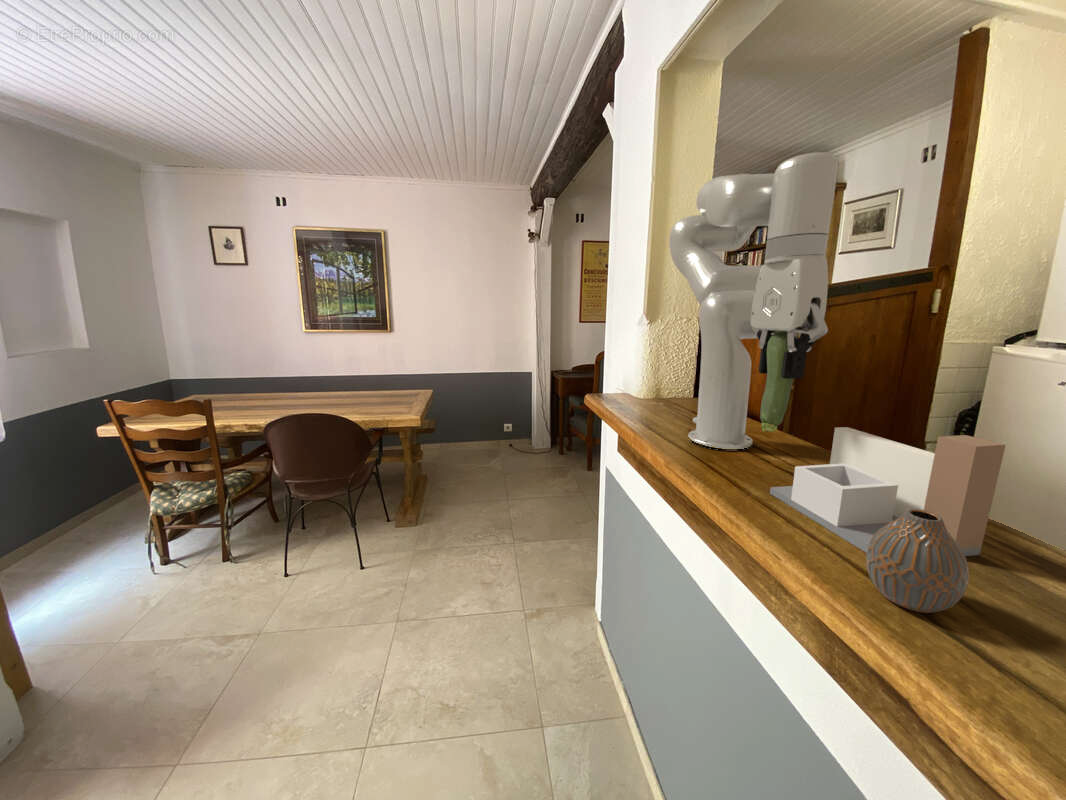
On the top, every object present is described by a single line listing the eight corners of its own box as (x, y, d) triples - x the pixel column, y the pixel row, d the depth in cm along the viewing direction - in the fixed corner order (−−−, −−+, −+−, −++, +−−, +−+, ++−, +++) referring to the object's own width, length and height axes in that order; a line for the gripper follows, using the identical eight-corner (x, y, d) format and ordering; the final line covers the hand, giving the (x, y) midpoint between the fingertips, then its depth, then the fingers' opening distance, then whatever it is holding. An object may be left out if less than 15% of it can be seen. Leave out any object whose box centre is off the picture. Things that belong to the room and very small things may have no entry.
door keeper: (769, 493, 61) (779, 411, 58) (840, 488, 62) (852, 407, 60) (884, 564, 43) (905, 450, 41) (979, 554, 45) (1005, 444, 42)
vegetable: (762, 426, 67) (776, 304, 63) (792, 431, 64) (809, 303, 60) (753, 431, 64) (768, 304, 60) (784, 437, 61) (801, 304, 57)
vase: (925, 633, 34) (944, 540, 32) (844, 582, 41) (856, 503, 39) (979, 616, 36) (1000, 527, 34) (893, 570, 42) (907, 494, 41)
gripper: (735, 259, 66) (725, 368, 70) (818, 242, 49) (799, 386, 54) (777, 259, 67) (765, 367, 71) (872, 242, 50) (849, 384, 54)
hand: (780, 374), depth 62 cm, fingers closed on vegetable, 4 cm apart
